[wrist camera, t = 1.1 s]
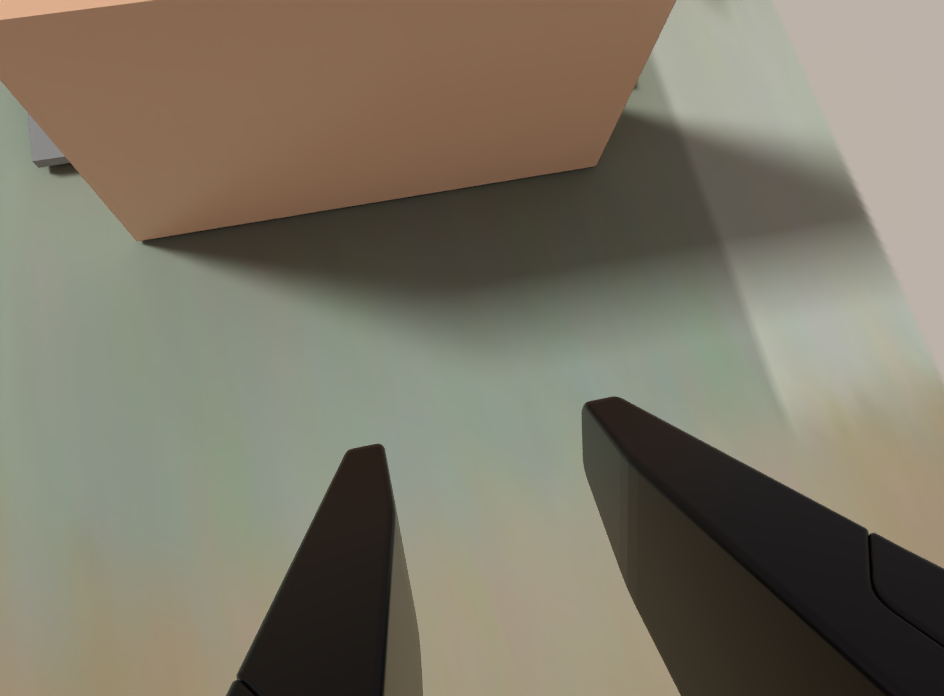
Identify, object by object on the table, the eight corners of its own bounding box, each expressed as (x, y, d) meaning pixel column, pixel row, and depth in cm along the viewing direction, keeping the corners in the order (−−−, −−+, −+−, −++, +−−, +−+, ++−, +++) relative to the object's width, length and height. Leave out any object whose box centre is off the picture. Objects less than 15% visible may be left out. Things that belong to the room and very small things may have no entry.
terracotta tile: (595, 166, 26) (710, -72, 16) (136, 241, 24) (-45, 25, 14) (576, 95, 26) (676, -175, 17) (127, 163, 24) (-54, -94, 15)
